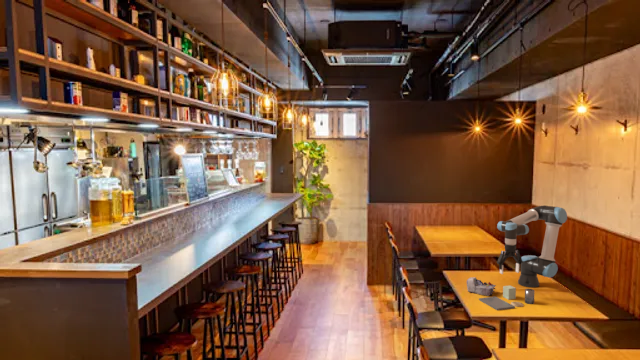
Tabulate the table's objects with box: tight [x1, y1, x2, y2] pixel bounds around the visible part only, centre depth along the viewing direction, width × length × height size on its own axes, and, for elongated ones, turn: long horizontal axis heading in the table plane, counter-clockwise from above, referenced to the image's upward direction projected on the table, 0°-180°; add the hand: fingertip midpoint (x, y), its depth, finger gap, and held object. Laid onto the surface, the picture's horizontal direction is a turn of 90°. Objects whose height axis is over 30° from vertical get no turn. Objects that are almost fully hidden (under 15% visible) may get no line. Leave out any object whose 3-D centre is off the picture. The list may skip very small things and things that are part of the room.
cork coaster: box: [510, 301, 525, 308], centre depth 289 cm, size 8×8×1 cm
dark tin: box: [524, 288, 535, 305], centre depth 293 cm, size 6×6×9 cm
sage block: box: [502, 285, 517, 300], centre depth 302 cm, size 6×6×8 cm
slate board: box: [478, 296, 516, 311], centre depth 291 cm, size 14×20×1 cm
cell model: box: [466, 276, 496, 297], centre depth 314 cm, size 13×11×20 cm
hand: (509, 272), depth 301 cm, fingers open, 13 cm apart
